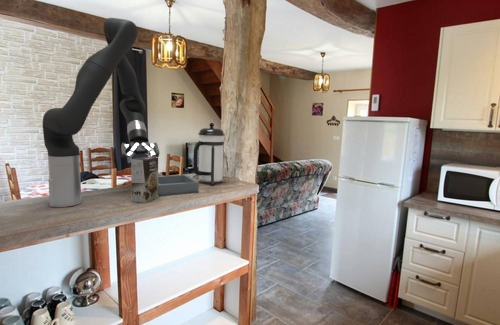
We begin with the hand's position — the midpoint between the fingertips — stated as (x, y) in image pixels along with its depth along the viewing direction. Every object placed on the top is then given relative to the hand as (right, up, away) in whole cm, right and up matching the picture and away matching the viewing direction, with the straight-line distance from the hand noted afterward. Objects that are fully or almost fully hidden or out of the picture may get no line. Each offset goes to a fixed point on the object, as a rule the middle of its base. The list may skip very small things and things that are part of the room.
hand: (142, 164), depth 115 cm
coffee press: (+22, -10, +31) cm, 39 cm away
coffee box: (+2, -14, -2) cm, 14 cm away
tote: (+8, -11, +15) cm, 20 cm away
